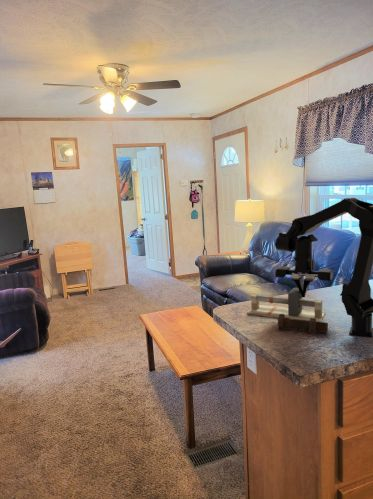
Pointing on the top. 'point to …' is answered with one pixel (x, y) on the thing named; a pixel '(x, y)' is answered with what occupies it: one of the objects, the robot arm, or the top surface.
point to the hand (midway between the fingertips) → (303, 297)
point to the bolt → (301, 324)
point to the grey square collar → (294, 302)
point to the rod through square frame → (275, 311)
